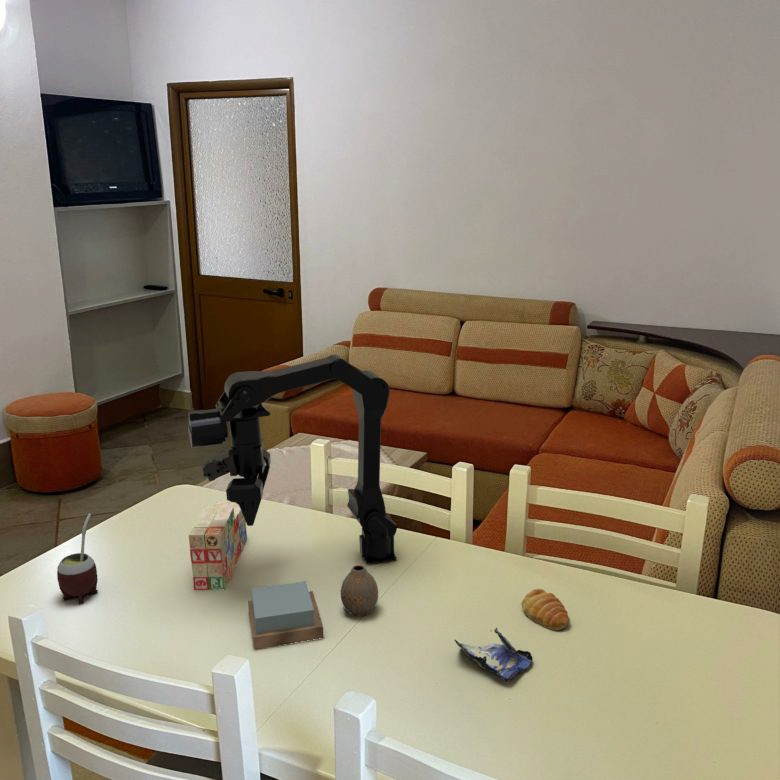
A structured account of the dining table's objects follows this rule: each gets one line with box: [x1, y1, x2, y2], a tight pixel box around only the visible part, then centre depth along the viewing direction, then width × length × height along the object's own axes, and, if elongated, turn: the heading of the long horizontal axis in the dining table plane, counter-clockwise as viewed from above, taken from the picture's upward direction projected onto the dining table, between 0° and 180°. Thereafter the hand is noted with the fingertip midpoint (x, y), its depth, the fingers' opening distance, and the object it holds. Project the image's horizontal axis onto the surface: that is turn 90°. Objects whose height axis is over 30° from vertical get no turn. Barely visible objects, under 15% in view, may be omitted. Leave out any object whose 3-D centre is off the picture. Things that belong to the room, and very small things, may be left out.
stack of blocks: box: [188, 501, 248, 591], centre depth 158 cm, size 21×6×12 cm, turn 179°
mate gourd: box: [56, 513, 99, 606], centre depth 146 cm, size 8×8×15 cm
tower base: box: [247, 590, 325, 650], centre depth 137 cm, size 12×12×3 cm
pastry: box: [521, 588, 571, 631], centre depth 137 cm, size 9×7×4 cm
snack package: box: [454, 627, 533, 684], centre depth 125 cm, size 12×6×12 cm
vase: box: [340, 564, 379, 617], centre depth 140 cm, size 7×7×9 cm
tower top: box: [250, 580, 314, 634], centre depth 136 cm, size 10×10×3 cm
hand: (253, 514), depth 149 cm, fingers open, 9 cm apart
